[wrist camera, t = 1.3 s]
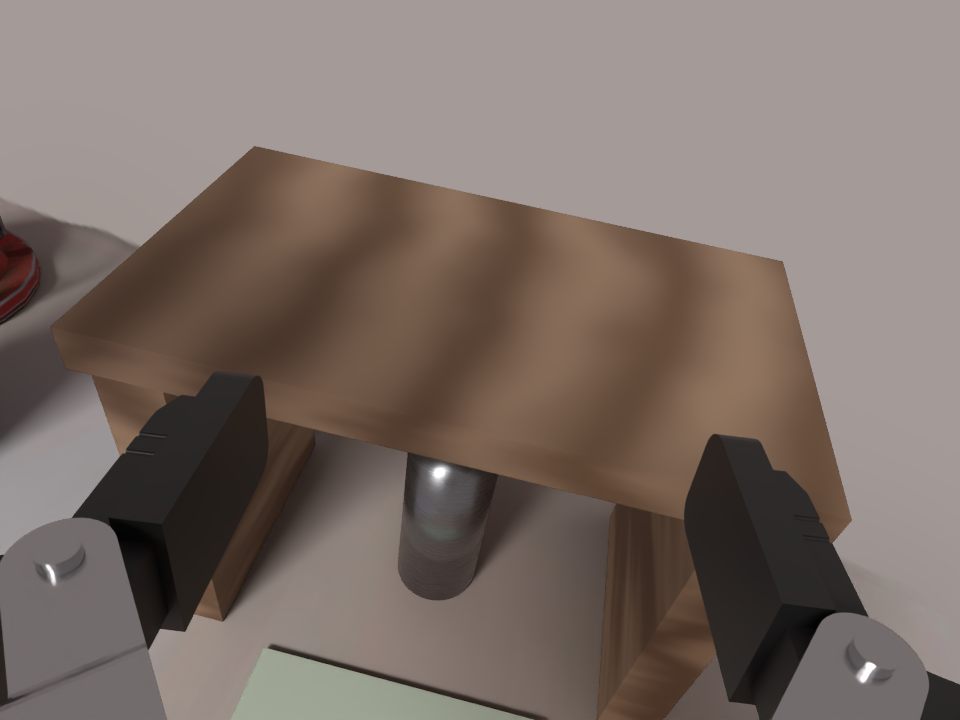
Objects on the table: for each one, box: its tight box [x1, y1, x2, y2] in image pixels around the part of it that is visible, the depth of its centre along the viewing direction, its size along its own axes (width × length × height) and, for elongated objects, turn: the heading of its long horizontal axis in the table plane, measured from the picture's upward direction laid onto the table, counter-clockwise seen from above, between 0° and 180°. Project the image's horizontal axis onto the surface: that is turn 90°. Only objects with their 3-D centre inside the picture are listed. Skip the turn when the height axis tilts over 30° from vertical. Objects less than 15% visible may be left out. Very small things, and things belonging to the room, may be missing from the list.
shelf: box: [50, 146, 852, 720], centre depth 36 cm, size 28×16×22 cm, turn 78°
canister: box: [398, 452, 498, 600], centre depth 39 cm, size 5×5×12 cm
